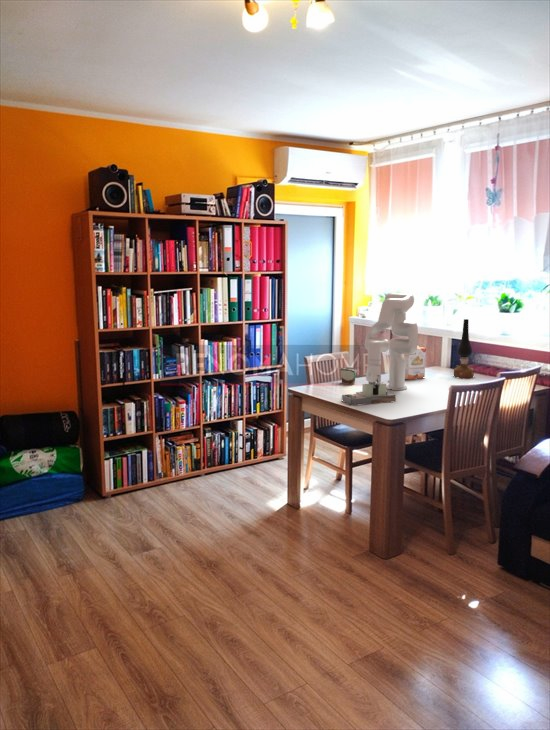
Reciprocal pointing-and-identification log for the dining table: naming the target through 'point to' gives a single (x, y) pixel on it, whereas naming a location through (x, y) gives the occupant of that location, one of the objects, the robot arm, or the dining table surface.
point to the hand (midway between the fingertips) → (373, 393)
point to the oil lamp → (464, 355)
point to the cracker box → (415, 364)
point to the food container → (348, 375)
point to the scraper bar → (369, 389)
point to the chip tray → (356, 400)
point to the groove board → (383, 398)
